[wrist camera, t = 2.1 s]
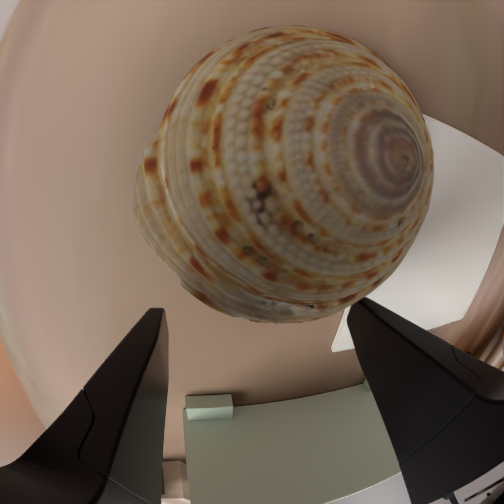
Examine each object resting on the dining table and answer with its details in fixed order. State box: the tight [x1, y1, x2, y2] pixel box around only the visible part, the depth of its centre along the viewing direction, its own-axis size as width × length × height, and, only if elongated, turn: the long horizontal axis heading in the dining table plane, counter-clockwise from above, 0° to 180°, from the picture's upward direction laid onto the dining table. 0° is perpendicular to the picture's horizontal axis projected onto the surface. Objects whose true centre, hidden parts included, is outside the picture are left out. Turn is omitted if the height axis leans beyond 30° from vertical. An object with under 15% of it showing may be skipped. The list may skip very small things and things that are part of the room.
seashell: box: [133, 26, 434, 324], centre depth 7 cm, size 8×6×8 cm
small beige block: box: [161, 461, 191, 504], centre depth 17 cm, size 4×5×4 cm
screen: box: [183, 379, 402, 504], centre depth 12 cm, size 14×4×7 cm, turn 86°
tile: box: [331, 113, 504, 352], centre depth 11 cm, size 11×11×1 cm
